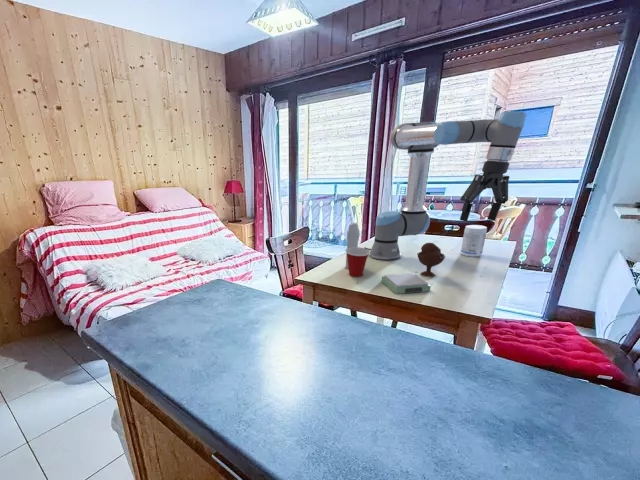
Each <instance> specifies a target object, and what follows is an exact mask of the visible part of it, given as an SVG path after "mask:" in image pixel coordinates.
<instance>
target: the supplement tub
mask: <svg viewBox="0 0 640 480" xmlns="http://www.w3.org/2000/svg"><path fill="white" fill-rule="evenodd" d="M487 232H488V227H487V226H485V225H480V224H469V225H465V228H464V230H463V236H462V241H461V248H460V254H461V255H463V256H465V257H473V258H475V257H481V256H482V255H483V251H484V247H485V242H486V241H485V240H486V237H487Z"/></svg>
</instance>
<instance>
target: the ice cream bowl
mask: <svg viewBox="0 0 640 480" xmlns="http://www.w3.org/2000/svg"><path fill="white" fill-rule="evenodd" d="M420 250H421V251H420V252H417V254H416V255H417V260H418V261H419V263H420V264H421V265H423V266H424V267H426V270H425V271H422V272H421V273H420V275H421V276H423V277H427V278H432V277H435V276H436V275H435V273H434V272H433V271H432V267H433V268H434V267H436V266H438V265H440V264H441V263H443V261H444V260H445V258H446V255H445V254H444V253H443V252H442V249H441V248H440V247H438V246H437V245H436V244H435V243H434V242H425V243H424V244H422V246H421V247H420Z"/></svg>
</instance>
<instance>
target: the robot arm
mask: <svg viewBox="0 0 640 480" xmlns="http://www.w3.org/2000/svg"><path fill="white" fill-rule="evenodd" d="M526 118H527V113H526V112H524V111H518V110H517V111H514V110H512V111H502V112H501V113H500V114H499V116H498V118H495V119H493V118H492V119H490V118H489V119H486V118H485V119H473V120H454V121H453V120H452V121H449V120H448V121H442V122H439V123H437V122H435V121H420V122H404V123H401V124H399V125H397V126H396V127H395V128H393V130H392V131H391V134H390V140H389V141H390V143H391V145H392V147H394V148H395V149H398V150H402V151H406V150H407V155H408V156H409V165H408V166H409V168H408V176H407V186H406V196H405V203H404V204H405V205H404V206H403V207H402V208H401V210H400V211H398V210H392V211H384V212H381V213H378V214H377V216H376V219H375V227H374V229H375V230H374V231H375V232H374V242H373V244H372V247H371V248H369V247H365V246H364V247H363V248H364V249H367V250H369V251H370V253H369V257H370V258H371V259H375V260H379V261H394V260H398V259H400V257H401V251H400V247H399V237H409V236H417V235H423V234H424V233H425V232H427V231H428V229H429V227H430V223H431V217H430V214H429V212H427V208H426V207H425V206H424V204H425V197H426V189H427V182H428V172H429V167H430V166H429V165H430V158H431V155H432V154H434V152H435V149H436V148H438V147H439V146H440V145H442V146H443V145H444V146H445V145H454V144H455V145H456V144H473V143H490V145H489V146H488V149H487V153H486V156H485V161H484V163H483V166H482V169H481V171H482V172H483V173H482V174H475V175H474V177H473V179H472V181H471V182H470V184H469V185H468V187H467V188H466V189H465V191H464V192H463V194H462V195H461V197H460V199H459V200H460V201H461V202H462V203H463V205H462V207H461V214H460V217H459V221H462V222H468V220H469V216H470V214H471V211H472V208H473V205H474V204H473V203H472V202H474V201H475V200H476V199H477V198H478V196H479V195H480V194H481V193H482V192H483V191H484V190H487V189H491V191H492V195H493V197H494V201H493V202H492V205H491V208H490V210H489V213H488V216H487V219H486V220H489V221H493V222H495V221H496V219H497V216H498V214H499V212H500V211H501V207H502V204H503V205H505V204H506V203H507V202H508V201H509V182H510V175H504V174H507V172H508V170H509V167H510V162H509V161H512V159H513V155H514V152H515V149H516V147H517V144H518V142H519V138H520V136H521V134H522V131H523V128H524V126H525V122H526Z"/></svg>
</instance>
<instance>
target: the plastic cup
mask: <svg viewBox="0 0 640 480" xmlns="http://www.w3.org/2000/svg"><path fill="white" fill-rule="evenodd" d="M344 251H345V252H346V253H347V260H348V274H349V276H351V277H354V278H360V277H362V276H363V274H364V270H365V267H366V263H367V259H368V257H369V256H370V251H371V250H367V249H365V248H364V247H359V246H358V247H351V248H347V247H346V249H345V250H344Z"/></svg>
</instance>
